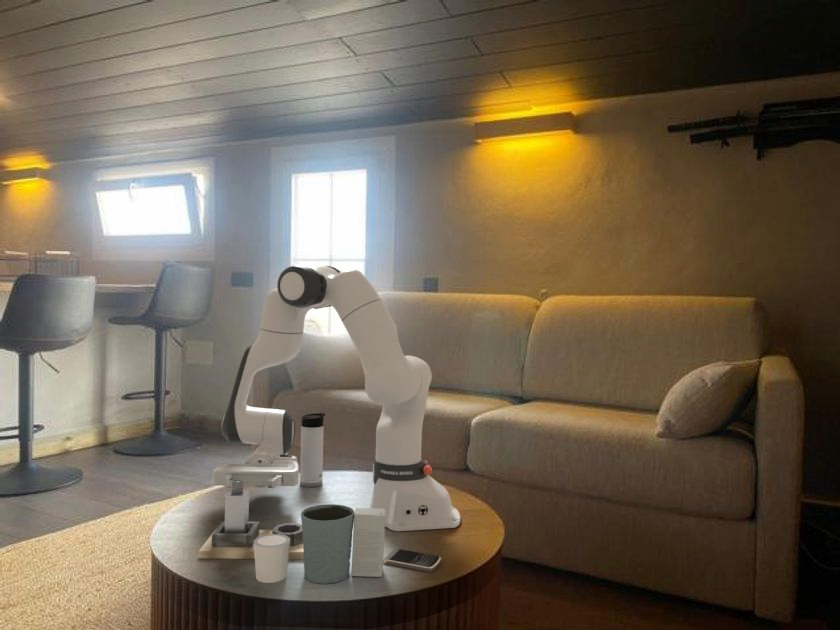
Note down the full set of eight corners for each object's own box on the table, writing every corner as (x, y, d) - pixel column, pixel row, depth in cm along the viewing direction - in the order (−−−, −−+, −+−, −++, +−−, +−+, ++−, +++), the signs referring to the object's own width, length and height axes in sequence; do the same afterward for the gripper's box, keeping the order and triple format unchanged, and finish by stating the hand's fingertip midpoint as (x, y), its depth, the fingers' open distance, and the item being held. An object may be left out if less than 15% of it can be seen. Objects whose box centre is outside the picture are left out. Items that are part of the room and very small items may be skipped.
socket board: (315, 537, 142) (316, 519, 142) (308, 559, 130) (309, 539, 130) (215, 536, 141) (215, 518, 141) (198, 558, 129) (198, 538, 129)
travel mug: (326, 485, 180) (328, 414, 180) (304, 488, 177) (305, 416, 177) (318, 479, 186) (320, 411, 185) (296, 482, 183) (298, 412, 182)
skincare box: (382, 568, 126) (386, 508, 126) (382, 577, 122) (386, 515, 122) (351, 567, 126) (355, 506, 126) (350, 576, 122) (354, 514, 122)
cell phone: (432, 575, 125) (432, 568, 125) (380, 565, 129) (381, 558, 129) (442, 563, 131) (443, 556, 131) (392, 554, 135) (393, 547, 135)
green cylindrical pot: (295, 584, 118) (296, 520, 118) (306, 562, 128) (306, 502, 128) (350, 585, 118) (351, 521, 118) (356, 563, 128) (357, 503, 128)
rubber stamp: (248, 536, 137) (249, 478, 137) (243, 543, 133) (244, 484, 133) (229, 536, 137) (230, 478, 137) (224, 543, 133) (225, 483, 133)
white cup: (256, 568, 125) (256, 533, 125) (291, 568, 125) (292, 533, 125) (249, 584, 118) (249, 547, 118) (287, 584, 118) (287, 546, 118)
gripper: (220, 455, 160) (204, 470, 146) (303, 456, 161) (294, 471, 147) (220, 480, 160) (204, 497, 147) (302, 481, 161) (294, 498, 147)
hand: (250, 484), depth 147 cm, fingers open, 8 cm apart
